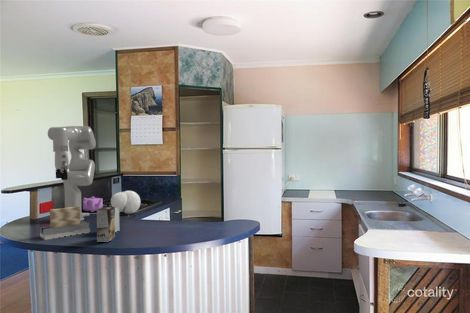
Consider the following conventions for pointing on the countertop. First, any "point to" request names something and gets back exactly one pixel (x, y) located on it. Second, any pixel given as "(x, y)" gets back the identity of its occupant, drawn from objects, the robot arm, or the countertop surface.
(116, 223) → the supplement box
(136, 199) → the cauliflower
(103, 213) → the coffee box
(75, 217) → the door panel
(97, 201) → the purple lumpy block
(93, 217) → the countertop surface
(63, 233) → the door track
